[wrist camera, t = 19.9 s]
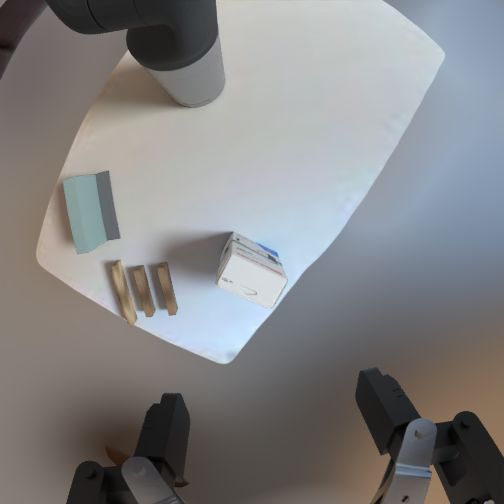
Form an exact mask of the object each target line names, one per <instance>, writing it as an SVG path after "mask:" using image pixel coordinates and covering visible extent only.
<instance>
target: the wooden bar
mask: <svg viewBox="0 0 504 504" xmlns="http://www.w3.org/2000/svg"><path fill="white" fill-rule="evenodd" d="M111 275H112V278H113V282H114V285H115V288H116V292H117V295H118V298H119V301H120V304H121V308H122V311H123V313H124V316H125V319H126V320H127V322H128V324H130V327H133V326H134V324H135V322H136V320H137V315H136V312H135V309H134V306H133V303H132V299H131V296H130V293H129V289H128V286H127V282H126V279H125V275H124V271H123V267H122V264H121V260H118V261H117V262H116V263H115V264H114V265H113V266H112V268H111Z"/></svg>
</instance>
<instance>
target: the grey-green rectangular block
mask: <svg viewBox="0 0 504 504" xmlns="http://www.w3.org/2000/svg"><path fill="white" fill-rule="evenodd" d="M63 186H64V193H65V199H66V205H67V211H68V216H69V221H70V226H71V231H72V235H73V240H74V244H75V248H76V252H77V254H82V253H88V252H90V251H92V250H93V249H95V248H97V247H98V246H100V245H101V244H103V243H105V242H106V241H107V238H106V233H105V228H104V224H103V219H102V213H101V208H100V202H99V196H98V190H97V183H96V176H95V175H87V176H77V177H72V178H69V179H66V180H63Z"/></svg>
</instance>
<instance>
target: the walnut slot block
mask: <svg viewBox="0 0 504 504" xmlns="http://www.w3.org/2000/svg"><path fill="white" fill-rule="evenodd" d="M157 271H158V275H159V279H160V283H161V287H162V291H163V295H164V299H165V303H166V306H167V310H168V314H169V315H176V312H177V310H178V306H177V302H176V298H175V294H174V290H173V286H172V282H171V278H170V273H169V269H168V264H167V263H161V264H160V265H159V266H158V267H157ZM133 273H134V277H135V280H136V284H137V288H138V291H139V295H140V298H141V302H142V305H143V308H144V312H145V315H146V317H152V316H153V314H154V312H155V306H154V303H153V299H152V296H151V292H150V288H149V284H148V281H147V277H146V273H145V269H144V265H143V266H137V267H136V269H135V270H134V271H133Z"/></svg>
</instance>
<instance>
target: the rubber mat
mask: <svg viewBox="0 0 504 504" xmlns="http://www.w3.org/2000/svg"><path fill="white" fill-rule="evenodd" d="M95 176H96V183H97V190H98V196H99V202H100V208H101V213H102V219H103V224H104V228H105V233H106V238H107V241H108V240H114V239H120V234H119V229H118V224H117V219H116V213H115V208H114V202H113V196H112V190H111V183H110V176H109V171H106V172H102V173H99V174H95Z"/></svg>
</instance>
